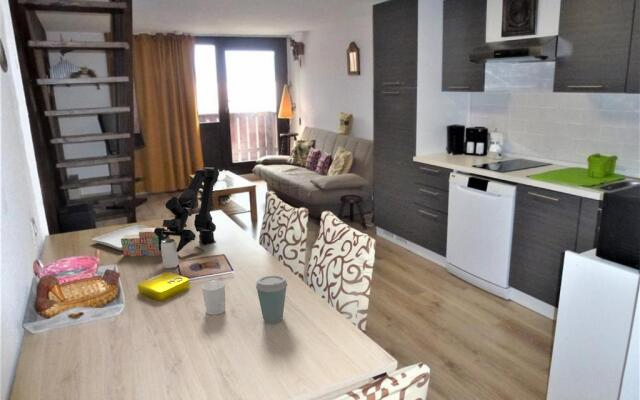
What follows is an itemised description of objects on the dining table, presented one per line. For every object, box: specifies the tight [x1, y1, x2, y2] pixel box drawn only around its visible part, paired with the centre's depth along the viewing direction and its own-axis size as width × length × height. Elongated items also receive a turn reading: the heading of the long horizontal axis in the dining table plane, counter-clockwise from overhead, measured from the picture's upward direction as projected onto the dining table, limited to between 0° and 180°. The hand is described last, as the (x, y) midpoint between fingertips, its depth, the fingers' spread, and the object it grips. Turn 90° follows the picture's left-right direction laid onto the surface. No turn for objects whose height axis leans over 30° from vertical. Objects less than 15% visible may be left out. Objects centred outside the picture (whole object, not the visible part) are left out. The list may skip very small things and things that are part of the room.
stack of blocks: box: [121, 227, 171, 257], centre depth 221 cm, size 21×6×12 cm, turn 89°
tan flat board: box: [177, 245, 206, 260], centre depth 220 cm, size 12×8×1 cm, turn 132°
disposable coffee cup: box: [255, 274, 288, 325], centre depth 154 cm, size 11×11×15 cm
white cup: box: [201, 280, 226, 316], centre depth 163 cm, size 8×8×10 cm
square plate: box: [91, 224, 151, 251], centre depth 242 cm, size 27×27×4 cm
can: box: [161, 238, 179, 269], centre depth 204 cm, size 6×6×12 cm
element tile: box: [137, 271, 191, 303], centre depth 181 cm, size 15×15×5 cm
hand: (168, 250), depth 203 cm, fingers open, 9 cm apart
